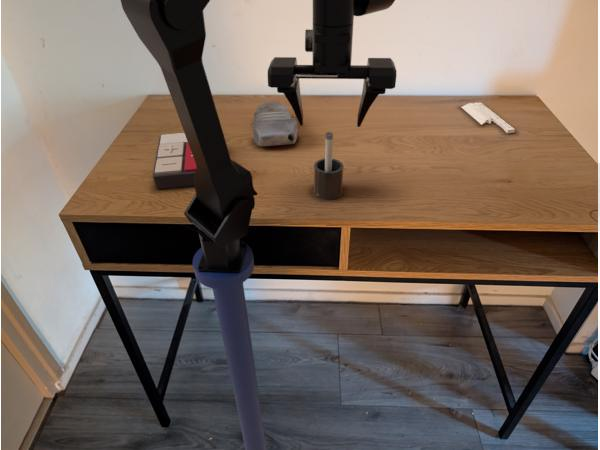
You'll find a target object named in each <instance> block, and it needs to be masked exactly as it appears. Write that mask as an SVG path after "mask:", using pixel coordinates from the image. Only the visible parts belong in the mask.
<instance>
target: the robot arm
mask: <svg viewBox="0 0 600 450" xmlns="http://www.w3.org/2000/svg"><path fill="white" fill-rule="evenodd" d="M395 1H396V0H312V29H305V32H304V50H305V52H306V53H312V64H298V60H297V57H293V56H291V57H289V56H282V57H281V56H279V57H278V56H275V57H273V59H272V60H271V61H270V64H269V67H268V68H267V87H269V88H273V89H274V88H276V91H277V93H278V94H283V95H284V96H285V98H286V100H287V101H288V103H289V104H290V106H291V108H292V110H293V112H294V115H295V117H296V119H297V121H298V124H299V126H300V127H303V126H304V109H303V103H302V95H301V87H300V79H306V80H307V79H310V80H311V79H314V80H316V79H317V80H320V79H321V80H323V79H325V80H326V79H327V80H363V85H362V91H361V96H360V102H359V107H358V112H357V118H356V119H357V121H356V125H357V126H356V127H357V128H360V127H361V126H362V124H363V122H364V120H365V117H366V116H367V114H368V112H369V110H370V108H371V106H372V105H373V104H374V102H375V100H376V99H377V98H378V96H379V95H385V94H386V90H392V89H395V88H396V84H397V68H396V65H395V61H394V60H393V59H392V57H368V58H367V63H366V65H365V64H363V65H361V64H360V65H359V64H358V65H357V64H356V65H353V64H352V57H353V55H352V54H353V39H354V38H353V36H354V19H355V17H363V16H365V15H366V16H367V15H369V14H374V13H377V12H382V11H385V10H387V9H389V8H391V7H392V6H393V4H394V3H395ZM210 2H211V0H120V4H121V8H122V10H123V13H124V14H125V16H126V18H127V20H128V21H129V23H130V24H131V26H132V29H133V30H134V31H135V33H136V35H137V36H138V38H139V40H140V41H141V43H142V44H143V45H144V46H145V48H146V49H147V51H148V52H149V53H150V54H151V56H152V58H154V60H155V61H156V63H157V64H158V65H159V67H160V70H161V72H162V74H163V78H164V81H165V83H166V87H167V89H168V92H169V95H170V97H171V100H172V102H173V105H174V108H175V111H176V113H177V117H178V119H179V123H180V124H181V127H182V130H183V133H185V136H186V138H187V141H188V144H189V147H190V149H191V152H192V155H193V157H194V160H195V163H196V172H195V176H194V185H195V186H194V191H195V194H194V195H193V197H192V198H191V200H190V202H189V204H188V205H187V207H186V208H185V211H184V212H183V214H184V216H185V218H186V219H187V220H188V221H189V223H191V224H193V225H194V226H195V227H196V228H198V231H197V232H198V236H199V241H200V244H201V246H200V247H202V251H203V255H202V258H201V260H200V263H199V266H198V271H199V272H212V273H236V274H237V273H239V272H240V271H241V267H242V263H243V259H244V255H245V251H246V247H247V246H246V244H247V243H246V242H244V243H239V241H240V239H242V238H243V237H245V236H247V235H248V230H249V227H250V222H251V218H252V213H253V209H255V205H256V201H255V196H257V195H258V192H257V191H256V189H255V188H254V182H253V175H252V173H251V171H250V170H249V169H247V168H245V167H244V166H243V165H241V164H239V163H238V162H236V161H234V160H233V159H231V155H230V151H229V147H228V145H227V141H226V137H225V135H224V131H223V127H222V124H221V121H220V117H219V114H218V111H217V106H216V103H215V100H214V97H213V94H212V89H211V86H210V83H209V80H208V76H207V73H206V70H205V65H204V63H203V54H204V49H205V44H206V43H205V42H206V39H207V31H206V22H205V14H204V10H205V8H206V7H207V6H208V4H209V3H210Z"/></svg>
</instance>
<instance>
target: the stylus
mask: <svg viewBox="0 0 600 450" xmlns="http://www.w3.org/2000/svg"><path fill="white" fill-rule="evenodd" d="M324 137H325V141H324V142H325V143H324V145H325V148H324V149H325V150H324V151H325V152H324V154H325V155H324V159H325V172H332V159H333V147H334V146H333V142H334V133H333V132H330V131H328V132H325V136H324Z"/></svg>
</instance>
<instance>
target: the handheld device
mask: <svg viewBox="0 0 600 450" xmlns="http://www.w3.org/2000/svg"><path fill="white" fill-rule="evenodd" d="M298 132H299V128H298V123H297V120H296V119H295V118H292V115H291V111H290V110H289V108H288V107H287V106H286V105H285V104H283V103H282V102H280V101H269V102H268V101H266V102H262V103H259V105H258V106H257V107H256V108H255V110H254V113H253V122H252V134H253V135H252V137H253V141H254V142H253V143H254V144H255V145H257V146H258V147H270V146H271V147H272V146H273V147H274V146H285V145H294V144H295V143H296V142H297V139H298Z"/></svg>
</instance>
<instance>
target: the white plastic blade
mask: <svg viewBox="0 0 600 450" xmlns="http://www.w3.org/2000/svg"><path fill="white" fill-rule="evenodd" d="M461 109H463V111H464V112H465V113H467V114H468V115H469V116H470V117H471V118H473V119H474V120H475V121H477V123H479V124H480V125H481V126H484V125H485V124H492V122H493V123H494V124H496V125H497V126H498V127H500V128H501V129H502V130H503V131H504V132H505V133H506V134H513V133H515V131H516V128H514V127H513V126H512V125H510V124H509V123H507V122H506V121H505V120H504V119H503V118H501V117H500V116H499V115H498V114H496V113H495V112H494V111H492V110H491V108H489V107H487V106H486V105H485V104H484V103H482V102H481V101H480V102H476V101H475V102H469V103H466V104H464V105H463V106H461Z"/></svg>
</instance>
